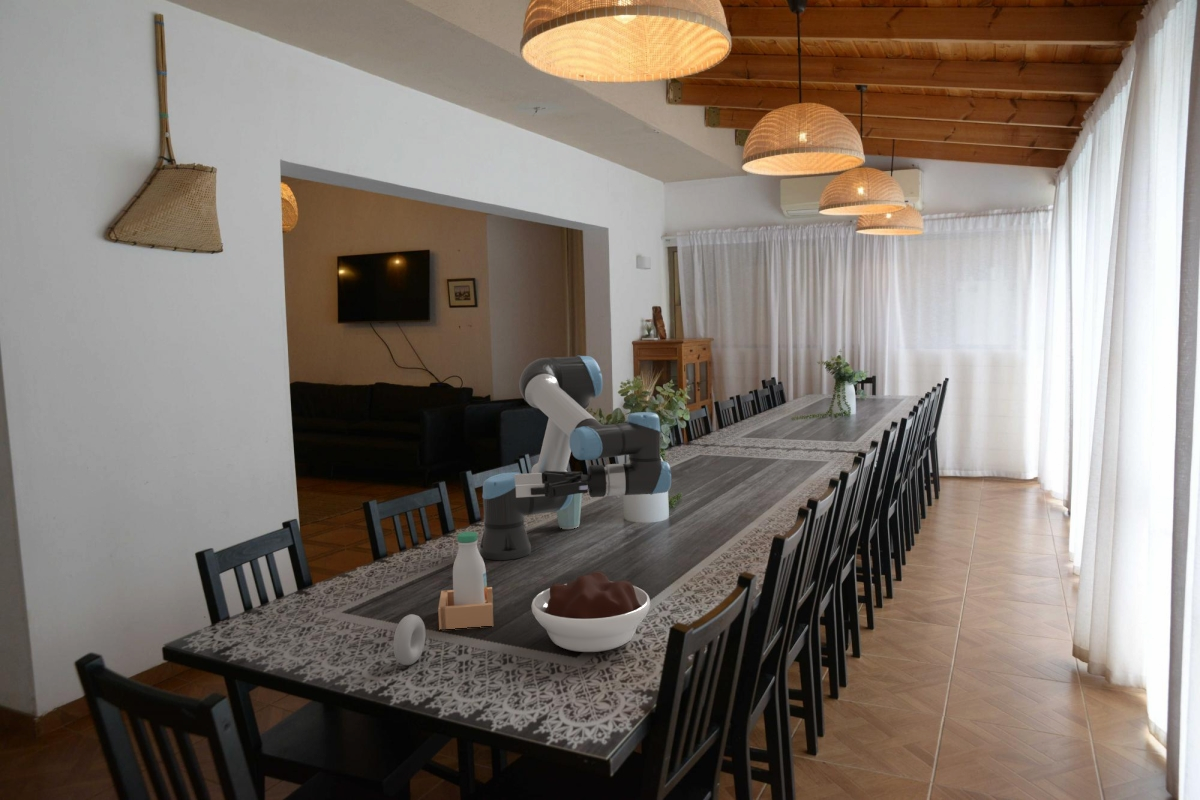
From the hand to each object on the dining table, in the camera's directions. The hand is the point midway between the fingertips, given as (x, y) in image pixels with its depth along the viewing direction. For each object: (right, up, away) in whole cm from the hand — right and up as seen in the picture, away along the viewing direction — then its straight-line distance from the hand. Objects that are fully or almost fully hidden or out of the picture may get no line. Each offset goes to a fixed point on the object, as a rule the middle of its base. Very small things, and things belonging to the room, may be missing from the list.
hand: (515, 485), depth 196 cm
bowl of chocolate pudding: (+18, -32, -18) cm, 41 cm away
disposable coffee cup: (+9, -22, +81) cm, 85 cm away
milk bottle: (-10, -31, -1) cm, 32 cm away
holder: (-10, -31, -1) cm, 32 cm away
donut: (-18, -34, -26) cm, 46 cm away
